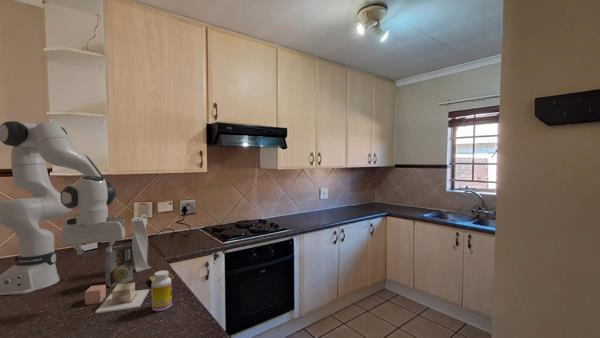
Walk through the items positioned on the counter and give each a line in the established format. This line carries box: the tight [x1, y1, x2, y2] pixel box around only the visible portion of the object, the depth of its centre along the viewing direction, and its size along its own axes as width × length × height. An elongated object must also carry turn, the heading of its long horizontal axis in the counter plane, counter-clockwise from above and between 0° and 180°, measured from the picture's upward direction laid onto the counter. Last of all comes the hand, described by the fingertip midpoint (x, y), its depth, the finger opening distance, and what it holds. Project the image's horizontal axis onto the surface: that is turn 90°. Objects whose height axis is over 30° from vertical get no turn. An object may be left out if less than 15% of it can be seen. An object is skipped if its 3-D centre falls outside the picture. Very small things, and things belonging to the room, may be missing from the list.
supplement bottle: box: [151, 269, 173, 312], centre depth 100 cm, size 7×7×13 cm
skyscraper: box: [131, 214, 153, 273], centre depth 137 cm, size 8×8×28 cm
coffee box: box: [104, 243, 134, 288], centre depth 122 cm, size 9×6×16 cm
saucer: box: [149, 271, 175, 283], centre depth 123 cm, size 9×9×2 cm
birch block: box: [111, 282, 136, 305], centre depth 105 cm, size 6×6×5 cm
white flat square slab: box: [94, 288, 150, 315], centre depth 105 cm, size 14×14×1 cm
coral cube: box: [84, 284, 107, 306], centre depth 106 cm, size 5×5×5 cm
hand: (95, 253), depth 105 cm, fingers open, 8 cm apart
